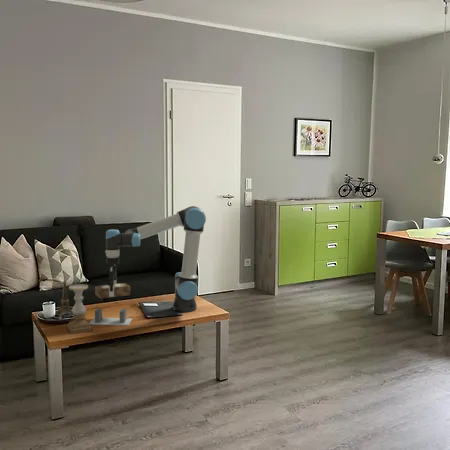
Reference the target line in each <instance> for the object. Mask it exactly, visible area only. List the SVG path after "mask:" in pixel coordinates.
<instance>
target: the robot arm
mask: <svg viewBox="0 0 450 450" xmlns="http://www.w3.org/2000/svg"><path fill="white" fill-rule="evenodd" d="M206 220H207V216H206V213H205V212H204V210H202V208H199V207H198V206H196V205H195V206H194V205H192V206H189V207H186V208H184V209H181V210H178V211H177V212H176V213H175V214H172V215H169V216H166V217H164V218H161V219H158V220H155V221H152V222H149V223H145V224H143V225H140V226H138V227H135V228H130V229H127V230H126V231H124V233H123V232H122V233H121V232H120V230H119V229H108V230H106V231H105V251H104V253H105V256H106V257H105V263H106V264H107V265H109V267H108V273H109V274H108V284H107V285H108V286H109V298H115V297H114V284H117V280H118V277H117V267H118V266H117V265H118V264H120V247H134V248H135V247H140V246H141V240H143V239H146V238H149V237H151V236H154V235H155V236H156V235H158V234H161V233H163V232H166V231H169V230H171V229H174V228H175V229H176V228H177V227H183V231H184V232H185V236H184V246H183V256H182V266H181V271H180V272H176V273H175V275H174V279H175V280H174V281H175V283H174V285H175V286H174V299H173V301H172V305H171V307H172V308H173V309H175V310H178V311H180V312H179V313H189V312H190V313H191V312H195V311H196V310H197V308H198V307H197V302H196V298H195V297H197V295H198V291H199V288H198V281H199V280H198V279H199V276H198V275H197V267H198V259H199V249H200V248H199V247H200V243H201V242H200V240H201V234H203V232H204V228H205V227H204V226H205V223H206ZM173 309H172V310H173ZM175 310H174V311H175ZM178 311H177V312H178Z"/></svg>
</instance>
